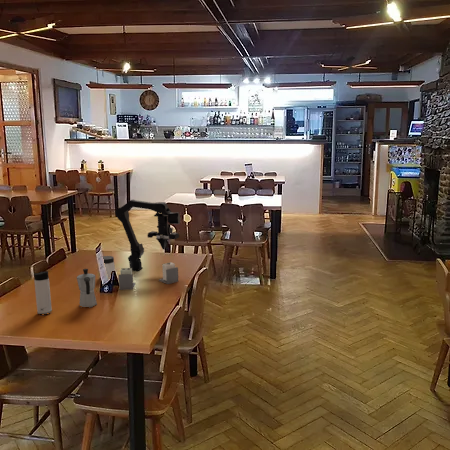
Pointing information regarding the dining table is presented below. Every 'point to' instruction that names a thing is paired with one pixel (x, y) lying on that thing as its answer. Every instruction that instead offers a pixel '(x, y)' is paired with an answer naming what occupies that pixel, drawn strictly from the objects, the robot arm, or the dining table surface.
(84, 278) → the coffee maker
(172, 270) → the housing
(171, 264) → the plunger
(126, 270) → the block with two buttons
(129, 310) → the dining table surface
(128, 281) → the housing
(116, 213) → the robot arm
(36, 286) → the travel mug
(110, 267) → the jar
